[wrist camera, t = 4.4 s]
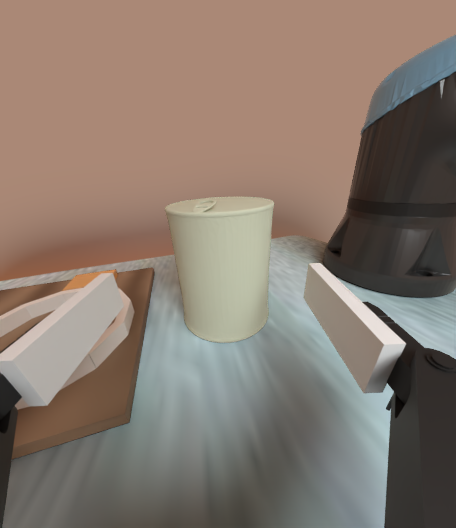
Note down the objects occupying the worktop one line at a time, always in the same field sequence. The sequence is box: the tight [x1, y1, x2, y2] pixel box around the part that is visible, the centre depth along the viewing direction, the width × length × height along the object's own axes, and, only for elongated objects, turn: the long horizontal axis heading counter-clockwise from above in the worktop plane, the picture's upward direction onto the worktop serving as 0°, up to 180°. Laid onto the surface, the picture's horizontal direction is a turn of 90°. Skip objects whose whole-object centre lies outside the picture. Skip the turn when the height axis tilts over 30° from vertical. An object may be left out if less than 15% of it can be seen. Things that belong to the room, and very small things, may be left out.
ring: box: [0, 269, 134, 410], centre depth 19 cm, size 13×18×2 cm
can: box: [165, 197, 274, 343], centre depth 19 cm, size 9×9×12 cm
